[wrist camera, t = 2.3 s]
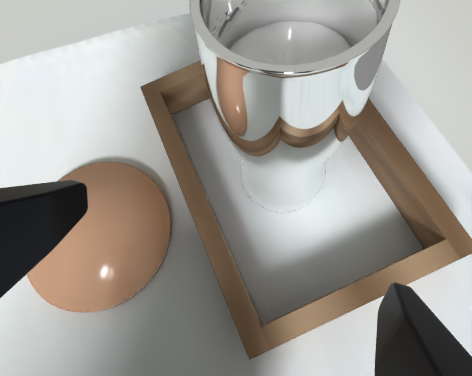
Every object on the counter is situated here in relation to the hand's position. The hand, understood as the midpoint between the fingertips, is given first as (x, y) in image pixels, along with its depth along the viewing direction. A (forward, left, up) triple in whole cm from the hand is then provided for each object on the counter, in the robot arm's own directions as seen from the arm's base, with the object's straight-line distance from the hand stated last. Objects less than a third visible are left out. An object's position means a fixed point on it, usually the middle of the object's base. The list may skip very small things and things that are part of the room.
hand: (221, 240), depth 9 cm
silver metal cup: (+3, +7, -14) cm, 16 cm away
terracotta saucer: (-11, +4, -14) cm, 18 cm away
